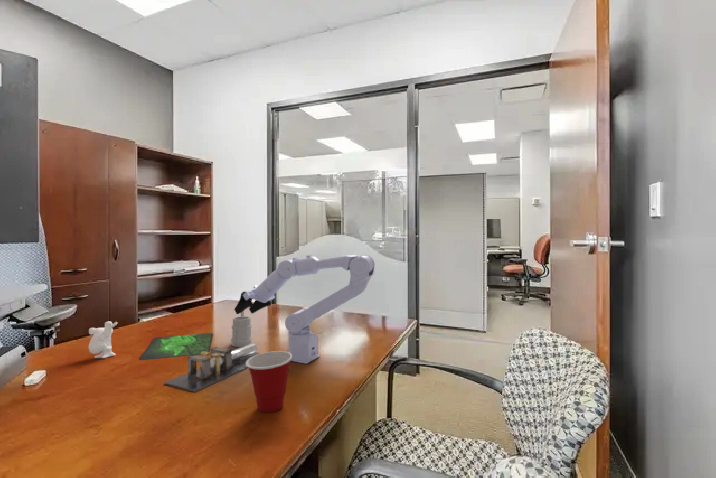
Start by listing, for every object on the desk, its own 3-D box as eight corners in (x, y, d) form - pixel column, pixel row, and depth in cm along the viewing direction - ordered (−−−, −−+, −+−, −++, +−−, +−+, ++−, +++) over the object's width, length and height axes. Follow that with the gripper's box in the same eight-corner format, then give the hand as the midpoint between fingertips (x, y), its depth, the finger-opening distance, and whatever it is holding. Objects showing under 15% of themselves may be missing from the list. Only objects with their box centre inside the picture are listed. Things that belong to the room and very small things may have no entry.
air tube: (249, 351, 125) (249, 340, 125) (256, 353, 124) (256, 341, 124) (199, 372, 107) (199, 358, 107) (207, 374, 105) (207, 360, 105)
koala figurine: (122, 353, 128) (121, 318, 128) (111, 359, 121) (111, 323, 121) (96, 354, 127) (95, 319, 127) (83, 361, 120) (83, 324, 120)
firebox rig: (272, 356, 124) (272, 338, 124) (194, 392, 96) (194, 368, 96) (245, 351, 129) (244, 333, 129) (164, 384, 102) (164, 361, 102)
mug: (230, 348, 134) (230, 315, 134) (232, 339, 145) (232, 308, 145) (252, 346, 136) (251, 313, 136) (252, 337, 147) (252, 307, 147)
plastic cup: (244, 401, 91) (244, 352, 91) (288, 394, 95) (288, 348, 95) (247, 422, 81) (246, 367, 81) (296, 413, 85) (296, 361, 85)
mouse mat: (209, 354, 128) (209, 351, 128) (137, 362, 120) (137, 359, 120) (213, 334, 153) (213, 332, 153) (153, 339, 146) (153, 337, 146)
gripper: (276, 278, 133) (251, 302, 135) (251, 275, 120) (223, 302, 122) (286, 293, 130) (260, 317, 133) (261, 292, 117) (233, 319, 120)
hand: (243, 311), depth 127 cm, fingers open, 7 cm apart
